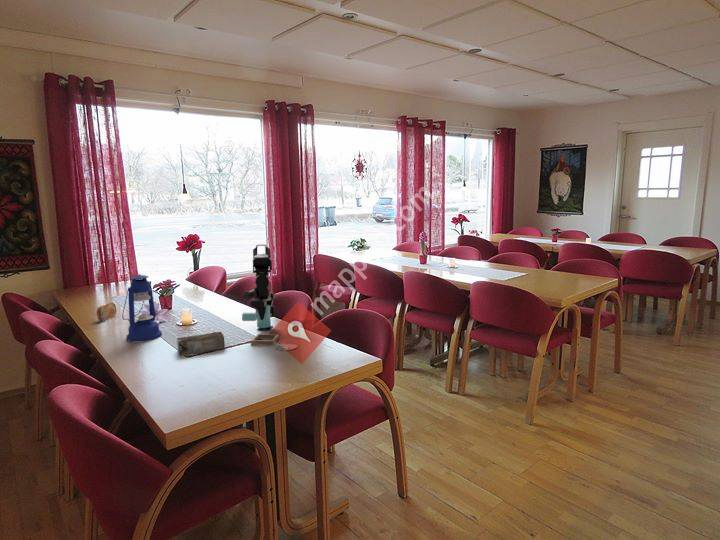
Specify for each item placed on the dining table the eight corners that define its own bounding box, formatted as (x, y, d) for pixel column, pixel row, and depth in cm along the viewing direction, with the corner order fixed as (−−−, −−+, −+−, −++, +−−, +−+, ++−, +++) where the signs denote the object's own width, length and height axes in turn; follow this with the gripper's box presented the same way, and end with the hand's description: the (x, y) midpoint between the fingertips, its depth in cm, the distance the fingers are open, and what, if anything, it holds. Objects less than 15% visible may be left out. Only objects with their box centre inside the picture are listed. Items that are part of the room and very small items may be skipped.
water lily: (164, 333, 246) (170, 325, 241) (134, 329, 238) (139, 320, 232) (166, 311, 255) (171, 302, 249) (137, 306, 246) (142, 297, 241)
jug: (271, 324, 211) (271, 304, 209) (269, 328, 205) (268, 307, 204) (245, 324, 211) (244, 304, 210) (241, 328, 205) (240, 307, 204)
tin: (102, 322, 243) (100, 307, 242) (96, 322, 243) (94, 307, 242) (117, 315, 258) (116, 300, 257) (112, 315, 258) (110, 300, 257)
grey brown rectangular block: (177, 350, 199) (175, 336, 198) (222, 344, 208) (221, 330, 207) (178, 356, 192) (177, 341, 191) (225, 349, 201) (224, 334, 200)
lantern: (146, 343, 209) (141, 278, 204) (117, 341, 212) (111, 277, 207) (169, 332, 225) (164, 272, 220) (142, 330, 228) (136, 271, 224)
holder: (257, 338, 215) (257, 334, 214) (278, 338, 214) (278, 334, 214) (251, 345, 205) (250, 340, 205) (272, 345, 204) (272, 341, 204)
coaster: (279, 343, 206) (279, 342, 206) (299, 344, 206) (299, 343, 205) (274, 350, 197) (274, 349, 197) (295, 351, 197) (295, 350, 197)
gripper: (251, 280, 215) (253, 312, 217) (237, 288, 196) (239, 323, 199) (275, 280, 214) (276, 312, 216) (263, 288, 195) (264, 323, 198)
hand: (264, 317), depth 207 cm, fingers closed on jug, 6 cm apart
